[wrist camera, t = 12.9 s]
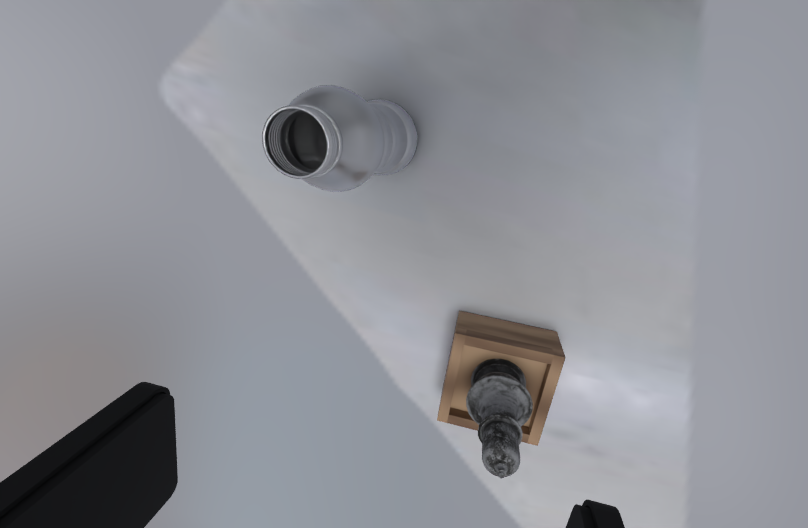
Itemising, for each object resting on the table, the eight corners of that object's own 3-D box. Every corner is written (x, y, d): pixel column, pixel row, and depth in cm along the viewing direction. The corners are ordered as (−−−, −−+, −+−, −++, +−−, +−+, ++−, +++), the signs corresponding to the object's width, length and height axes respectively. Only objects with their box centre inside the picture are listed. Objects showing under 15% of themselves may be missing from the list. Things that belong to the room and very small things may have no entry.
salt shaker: (533, 360, 39) (551, 452, 28) (524, 412, 41) (538, 518, 30) (470, 351, 40) (464, 436, 29) (464, 402, 42) (456, 501, 31)
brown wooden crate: (459, 310, 44) (455, 333, 39) (556, 331, 42) (565, 357, 37) (442, 390, 47) (437, 420, 42) (532, 412, 45) (537, 445, 41)
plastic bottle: (403, 184, 41) (330, 230, 22) (342, 152, 41) (219, 169, 22) (433, 122, 38) (381, 113, 20) (369, 88, 39) (257, 47, 20)
